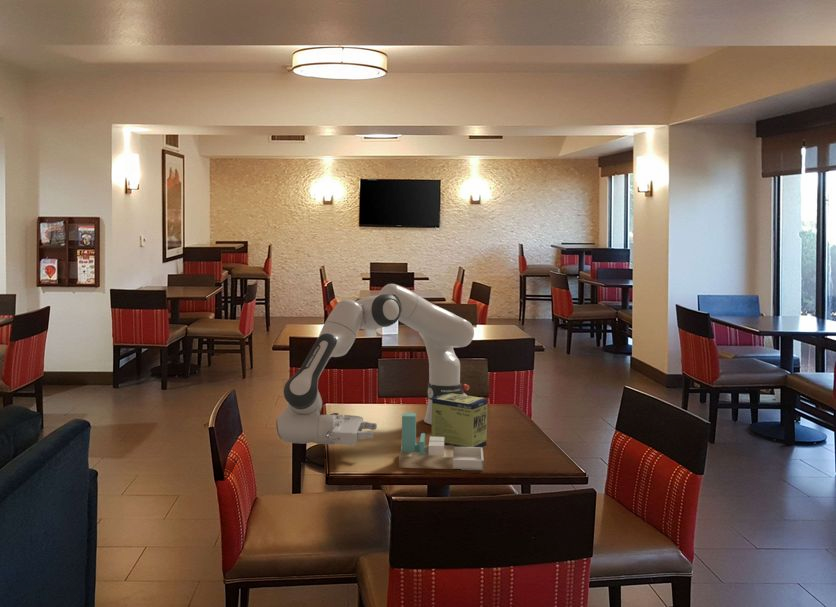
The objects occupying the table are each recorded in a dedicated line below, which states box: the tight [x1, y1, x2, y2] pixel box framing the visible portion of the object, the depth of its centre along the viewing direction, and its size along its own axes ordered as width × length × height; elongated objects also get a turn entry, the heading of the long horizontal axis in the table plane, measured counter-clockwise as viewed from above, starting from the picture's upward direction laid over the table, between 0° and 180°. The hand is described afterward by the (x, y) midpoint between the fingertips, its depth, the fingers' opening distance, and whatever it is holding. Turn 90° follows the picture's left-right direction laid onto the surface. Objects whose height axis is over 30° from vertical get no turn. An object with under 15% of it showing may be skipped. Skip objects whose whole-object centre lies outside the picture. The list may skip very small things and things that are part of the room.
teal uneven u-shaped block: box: [401, 412, 426, 455], centre depth 255 cm, size 7×10×11 cm
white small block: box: [428, 442, 444, 456], centre depth 252 cm, size 4×4×3 cm
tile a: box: [428, 436, 445, 443], centre depth 258 cm, size 4×4×3 cm
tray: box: [452, 446, 485, 471], centre depth 255 cm, size 9×14×3 cm, turn 177°
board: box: [398, 444, 453, 470], centre depth 255 cm, size 16×13×4 cm
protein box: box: [430, 393, 488, 448], centre depth 274 cm, size 10×16×16 cm
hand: (375, 430), depth 255 cm, fingers open, 8 cm apart
